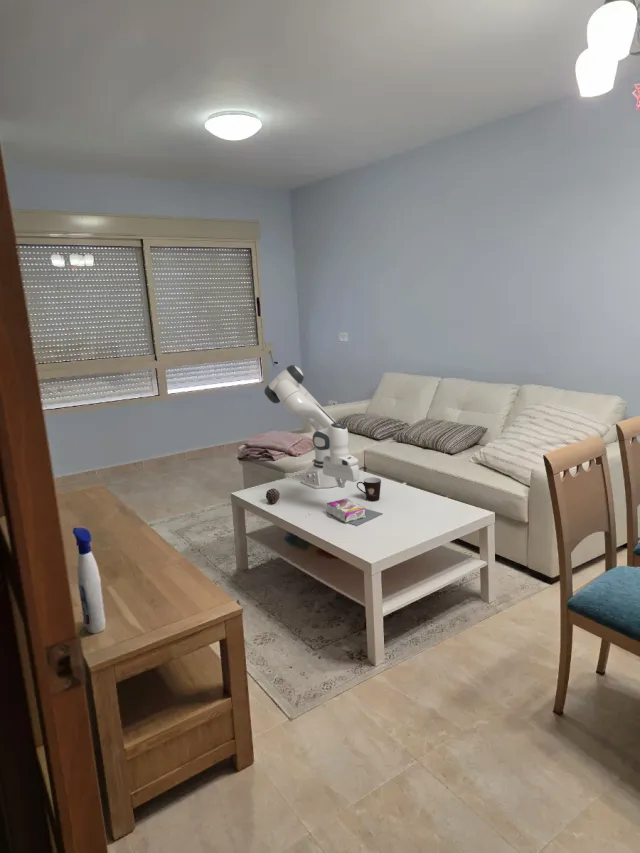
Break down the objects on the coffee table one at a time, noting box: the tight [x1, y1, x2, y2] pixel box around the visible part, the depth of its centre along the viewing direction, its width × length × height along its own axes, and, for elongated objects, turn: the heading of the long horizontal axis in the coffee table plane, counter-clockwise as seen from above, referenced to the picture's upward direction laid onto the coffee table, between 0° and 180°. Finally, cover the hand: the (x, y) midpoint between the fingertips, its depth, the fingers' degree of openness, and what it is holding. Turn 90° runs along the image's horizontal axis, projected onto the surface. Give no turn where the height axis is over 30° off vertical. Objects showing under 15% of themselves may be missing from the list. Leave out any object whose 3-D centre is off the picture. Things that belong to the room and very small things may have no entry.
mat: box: [327, 508, 384, 527], centre depth 261 cm, size 18×18×1 cm
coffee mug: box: [356, 476, 382, 502], centre depth 281 cm, size 12×9×10 cm
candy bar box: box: [326, 498, 367, 524], centre depth 260 cm, size 11×5×16 cm
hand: (341, 487), depth 264 cm, fingers closed
